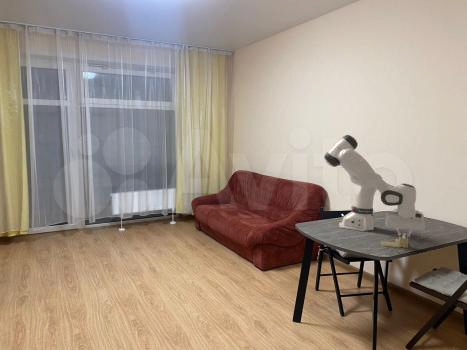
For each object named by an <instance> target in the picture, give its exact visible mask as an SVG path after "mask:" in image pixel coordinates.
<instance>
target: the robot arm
mask: <svg viewBox="0 0 467 350" xmlns="http://www.w3.org/2000/svg"><path fill="white" fill-rule="evenodd" d="M358 145H359V143H358V142H357V139H356V138H355V137H354V136H353V135H350V134H346V135H344V136H342V137H341V138H340V139H339V140H338V141H337V142H336V143H334V144H333V145H332V147H331V148H330V149H329V150H328V151H327V152H326V153H325V155H324V156H323V157H324V160H325V163H326V164H327V165H329V166H331V167H335V168H337V167H338V166H341V167H342V168H343V170H345V172H347V174H348V175H349V179H350V181H351V183H352V184H353V185H356V186H358V187H359V186H360V190H359V192H358V193H357V194H356V195H355V201H354V203H355V205H352V206H351V208H350V209H351V211H350V212H348V213H347V214H345V215H344V216H343V218H342V221H340V222H339V223H338V226H339V228H342V229H347V230H353V231H359V232H366V231H373V230H374V229H375V228H374V223H373V216H374V207H373V206H374V197H375V194H376V192H377V191H378V192H379V194H380V200H381V202H382V204H383V205H384V206H387V207H388V206H389V207H390V206H392V207H393V206H397V208H398V209H397V208H396V209H397V212H391V210H388V211H387V212H385V223H384V225H385V227H386V228H389V229H391V228H392V229H396V232H397V236H398V237H402V232H401V231H400V229H402V230H409V232H406V237H408V238H410V237H411V234H412V233H413V231H423V232H424V231H425V230H426V220H425V218H424V216H425V215H424V213H423V212H421V211H419V210H416V200H417V189H416V187H415V186H414V185H411V184H410V183H401V184H399V185H397V186H393V185H391V184H389V183H387V182H386V181H385V180H383V176H382V175H380V174H379V173H377V172H375V170H374V169H373V167H372V166H371V165H370V163H369V162H368V161H367V160H366V159H365V158H364V157H363V156H362V155H361V154H360V153H359V152H357V151H356V149H357V148H358Z"/></svg>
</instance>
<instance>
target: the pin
mask: <svg viewBox="0 0 467 350" xmlns="http://www.w3.org/2000/svg"><path fill="white" fill-rule="evenodd" d="M401 237H402V239H406V237H407V232H401Z"/></svg>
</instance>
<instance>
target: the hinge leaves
mask: <svg viewBox="0 0 467 350" xmlns="http://www.w3.org/2000/svg"><path fill="white" fill-rule="evenodd" d="M394 240H395V242H393V241H392V242H391V241H384V240H381V246H382V247H388V246H389V247H391V248H397V247H398V249H400V248H401V247H403V248H404V249H408V248H409V237H407V236H406V239H402V236H398V238H395V239H394ZM403 248H402V249H403Z"/></svg>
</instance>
